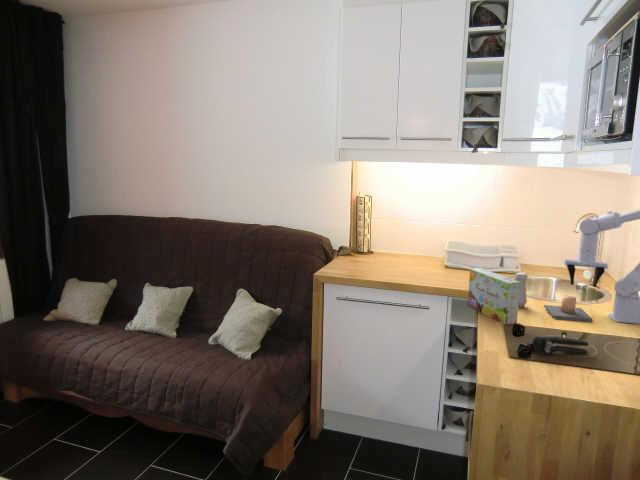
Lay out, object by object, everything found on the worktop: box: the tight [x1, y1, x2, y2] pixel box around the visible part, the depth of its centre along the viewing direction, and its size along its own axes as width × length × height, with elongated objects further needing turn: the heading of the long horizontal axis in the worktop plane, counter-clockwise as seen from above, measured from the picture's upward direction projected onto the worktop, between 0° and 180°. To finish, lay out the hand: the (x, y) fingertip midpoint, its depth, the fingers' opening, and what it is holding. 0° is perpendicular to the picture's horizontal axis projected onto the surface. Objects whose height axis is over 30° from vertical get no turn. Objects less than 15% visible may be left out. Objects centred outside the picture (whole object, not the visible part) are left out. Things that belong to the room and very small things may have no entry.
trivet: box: [543, 304, 593, 323], centre depth 182 cm, size 13×13×1 cm
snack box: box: [467, 267, 520, 326], centre depth 178 cm, size 21×6×15 cm, turn 21°
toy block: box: [560, 294, 577, 314], centre depth 181 cm, size 5×5×6 cm
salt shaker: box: [515, 272, 528, 309], centre depth 190 cm, size 6×6×13 cm
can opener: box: [526, 334, 589, 356], centre depth 145 cm, size 18×7×6 cm, turn 94°
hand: (583, 285), depth 188 cm, fingers open, 7 cm apart
